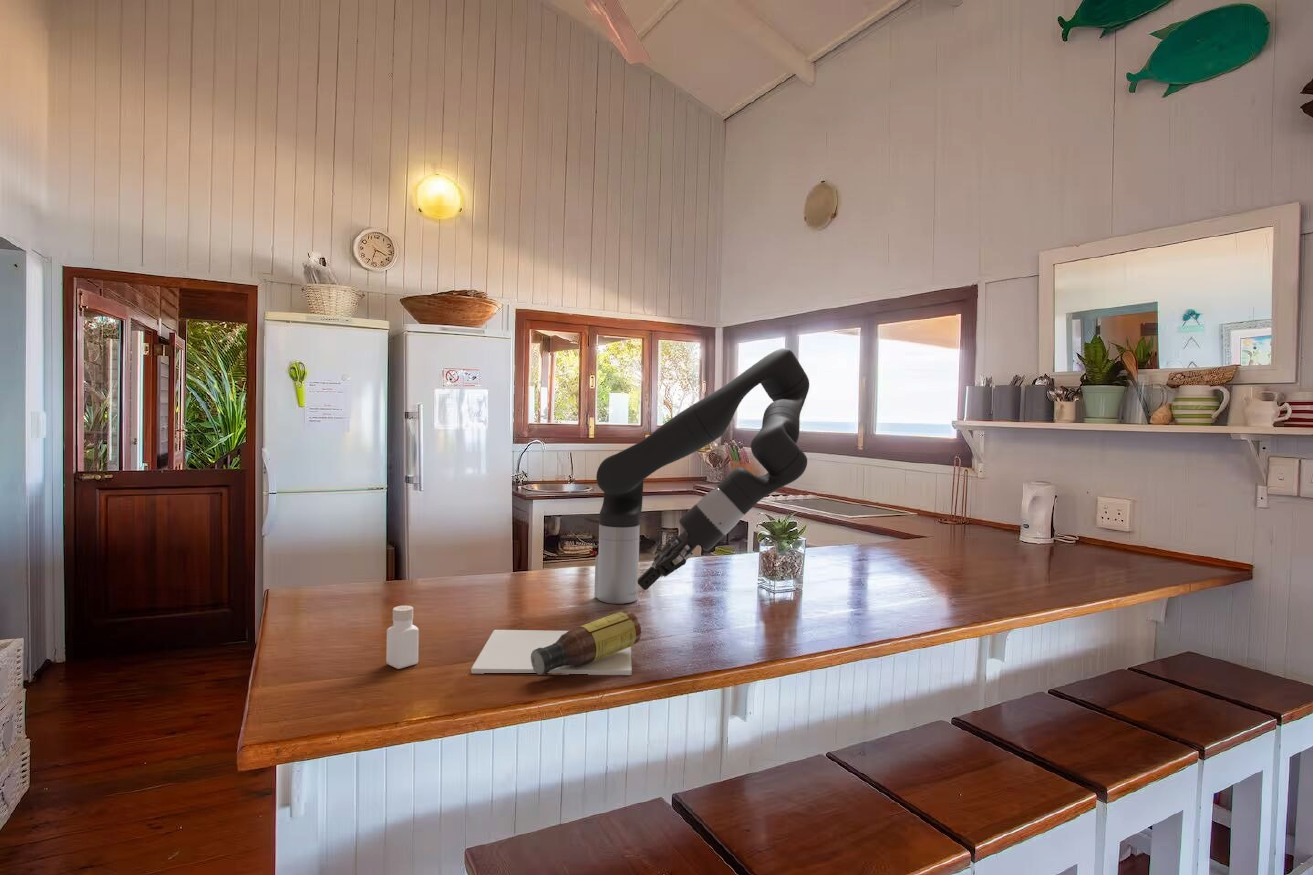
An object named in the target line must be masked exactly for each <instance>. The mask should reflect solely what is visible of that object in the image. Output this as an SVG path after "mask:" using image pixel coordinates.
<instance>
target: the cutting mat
mask: <svg viewBox="0 0 1313 875" xmlns="http://www.w3.org/2000/svg"><path fill="white" fill-rule="evenodd" d="M568 631H569V630H539V629H538V630H537V629H536V630H535V629H525V630H524V629H519V630H518V629H494V630H493V631H492V632H491V634H490V636H489V638H488V639H487V641H486V643H485V645H484V647H483V648H482V649H481V651H480V653H479V655H478V657H477V658H476V660H475V661H474V663H473V665H472V666H471V669H470V671H471V672H470V674H484V673H536V672H535V671H534V669H533V667H532V663H531V653H532V651H533V650H535V649H538V648H544V647H547V646H550V645H552V644H554V643H556V642H557V641H558V639H559V638H560V637H561V635H563V634H565V633H566V632H568ZM632 667H633V666H632V646H631V647H629V648H626V649H624V650H621V651H619V652H616V653H614V654H611V655H608V656H606V657H603V658H601V659H598V660H596V661H594V662H591V663H589V664H586V665H579V666H575V665H567V666H562V667H558V668H555V669H552V670H550V671H549V672H548V673H562V674H561V675H569V674H588V675H589V676H591V675H592V676H632V672H633V671H632ZM588 675H587V676H588Z"/></svg>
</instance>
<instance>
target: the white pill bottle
mask: <svg viewBox="0 0 1313 875" xmlns="http://www.w3.org/2000/svg"><path fill="white" fill-rule="evenodd" d="M413 620H414V607H413V606H411V605H398V606H395V607H393V608H392V621H393V622H392V626H390V627H388V628H387V629H386V653H385V654H386V656H385V657H386V658H385V659H386V660H385V661H386V664H387V665H389V666H391V667H393V668H395V669H398V670H400V669H404V668H406V667H411V666H414V665H417V664H418V663H419V638H420V632H419V631H420V630H419V628H418V627H417V626H416V625H414V624H413Z"/></svg>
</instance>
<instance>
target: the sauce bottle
mask: <svg viewBox="0 0 1313 875" xmlns="http://www.w3.org/2000/svg"><path fill="white" fill-rule="evenodd" d="M567 631H568V632H566V633H565V634H563V635H561V637H560V638H559V639H558V641H557V642H556V643H554V644H552V645H550V646H547V647H544V648H538V649H535V650H533V651H532V653H531V663H532V667H533V669H534V671H535V672H536V673H537V674H536V675H539V676H541V675H546V674H545V673H548V672H549V671H550V670H552V669H555V668H558V667H562V666H567V665H575V666H579V665H586V664H589V663H591V662H594V661H596V660H598V659H601V658H603V657H606V656H608V655H611V654H614V653H616V652H619V651H621V650H624V649H626V648H629V647H631V648H632V646H633V645H635V644H636V643H637V644H638V642H639V641H640V639H641V635H642V627H641V624H640V621H639V619H638V617H637V616H636V615H635V614H634V612H631V611H630V610H623V611H619V612H616V613H613V614H610V615H608V616H605V617H604V616H603V617H602V618H600V619H597V620H594V621H591V622H588V623H586V624H582V625H580V626H578V627H576V628H574V629H570V630H567Z"/></svg>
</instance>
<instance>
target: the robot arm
mask: <svg viewBox="0 0 1313 875" xmlns="http://www.w3.org/2000/svg"><path fill="white" fill-rule="evenodd" d="M758 385H760V386H762V388H763V389H764V391H765V393H766V394H767V395H768V397H769V398H770V399H771V400H772V402H771V403H770V404H769V405H768V406H767V407H766V408H765V410H764V414H763V417H762V421H761V422H762V423H761V424H762V425H761V428H760V430H759V431H758V433H757V434H755V436H754V437H753V439H752V440H751V442H750V449H751V450H750V451H751V453H752V455H753V457H754V458H755V459H756V461H757V462H758V463H759V464H760V465H761V466H762V467H763V469H765V471H766V472H767V473H766V474H763V475H760V476H759V475H758V476H757V475H754V474H753V473H752V472H750V471H749V470H747V469H746V468H745V467H737V468H735V469H734V470H732V471H731V472H729V474H728V475H727V476H726V477H725V478H724V479H723V480H722V481H721V482H719V484H718V485H717V486H715V487H714V488H713V489H712V490H710V491H708V492H707V493H706V494H705V495H704V496H702V498H700V500H699V501H697V503H695V504H694V505H693V506H692V507H691V508H690V509H689V510H688V511H687V512H686V513H685V514H684V515H683V516H681V517H680V518H679V524H680V526H681V527H682V529H683V532H681V533H680V534H679V535H677V534H675V535H674V536H672V538H670V539H669V540H668V542H667V543H666V544H665V546H664V547H663V548H662V549H661V550H660V552H658V554H657V555H656V556H655V557H654V559H653V561H652V563H651V566H650V567H649V568H648V569H647V570H645V572H643V573H642V574H641V576H639V565H640V564H639V562H640V561H639V560H640V559H639V558H640V556H639V555H640V522H641V513H642V510H643V500H644V499H643V495H644V480H645V479H646V478H648V477H650V476H651V475H652V474H653V473H655V472H657V471H658V470H660V469H661V468H664V467H665V466H667V465H669V464H672V463H675V462H677V461H679V460H681V459H683V458H686V457H688V456H690V455H692V454H693V453H696V452H697V451H699V450H701V449H704V448H705V447H706V446H708V445H710V444H712V443H713V442H714V441H716V440H718V439H719V438H721V437H722V436H723V434H725V432H726V431H727V429H728V427H729V425H730V423H731V422H732V420H733V417H734V415H735V413H736V411H737V409H738V407H739V406H740V404H741V403H742V401H743V399H744V398H745V397H746V396H747V394H749V393H750V392H751V391H752V390H753V389H754V388H755V387H757V386H758ZM809 390H810V379H809V377H808V375H807V372H805V370H804V368H803V366H802V365H801V363H800V361H799V360H798V358H797V357H796V355H795V353H794V351H792V349H790V348H788V347H783V348H779V349H776V350H774V351H773V352H771V353H769V354H767V355H765V356H764V357H763V358H761V359H760V360H759V361H757V362H756V363H754V364H752V366H750V367H748V368H747V369H746V370H744V371H742V373H740V374H739V375H737V376H736V377H735V378H734V379H732V380H731V381H729V382H728V383H726V384H725V385H723V386H722V387H720V388H719V389H717V390H714V392H712V393H710V394H708V395H707V396H705V397H704V398H702V399H700V400H699V401H697V402H695V403H694V404H692V405H690V406H688V407H687V408H686V409H684V410H683V411H681V412H679V413H677V414H676V415H675V416H674V417H672V418H670V419H669V420H667V421H666V422H665V423H663V424H662V425H661V426H659V427H658V428H657V429H655V431H653V432H651V433H650V434H648V436H647V437H645V438H643V439H642V440H641V441H638V442H637V443H635V444H632V445H631V446H629V447H627V448H625V449H623V450H621V451H619V452H617V453H615V454H612V455H610V456H608V457H606V458H605V459H603V460H602V462H601V463H600V465H599V466H598V467H597V472H596V483H597V485H598V488H599V489H600V490H601V491H602V492H603V501H602V506H601V509H600V512H599V516H598V521H599V522H598V524H599V525H598V554H597V555H596V556H595V558H594V559H595V561H594V563H595V564H594V596H593V597H594V598H597V600H598V601H600V602H603V603H607V604H617V605H618V604H619V605H621V604H629V603H634V602H636V601H637V600H638V597H639V596H638V590H639V589H638V588H639V587H640V588H641V589H643V591H647V590H648V589H649V588H650V587H651V586H653V585H654V583H655V582H657V580H659V579H660V578H662V577H664V578H666V577H667V576H669V575H671V574H672V573H673V572H675V571H677V570H678V569H679V568H681V567H682V566H685V565H686V563H687V560H689V559H690V558H691V557H692V556H693V551H694V550H695V549H696V547H697V546H699V547H700V548H701V549H702V550H704V551H705V552H709V551H711V549H712V548H713V547H714V546H716V545H717V544H718V543H719V542H720V541H721V540H722V539H723V538H724V537H725V536H726V535H727V534H728V533H729V532H730V531H731V530H732V529H733V528H735V526H737V524H738V523H739V522H740V520H742V518H743V517H744V516H745V515H746V514H747V513H748V512H750V510H751V509H752V508H753V507H754V506H756V505H757V504H758V503H759V502H760V501H761V500H763V499H764V498H766V497H767V496H769V495H770V494H773V493H775V492H776V491H777V490H780V489H782V488H783V487H786V486H787V485H790V484H791V483H793V482H795V481H796V480H798V479H799V478H800V477H802V475H803V474H804V472H805V471H806V469H807V466H808V457H807V455H806V454H805V453H804V451H803V450H802V449H801V448H800V447H799V445H798V444H797V443H798V441H799V438H800V428H801V427H800V424H801V423H800V422H801V419H800V417H801V412H802V409H803V407H804V404H805V402H806V399H807V396H808V393H809ZM638 586H639V587H638Z"/></svg>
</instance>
